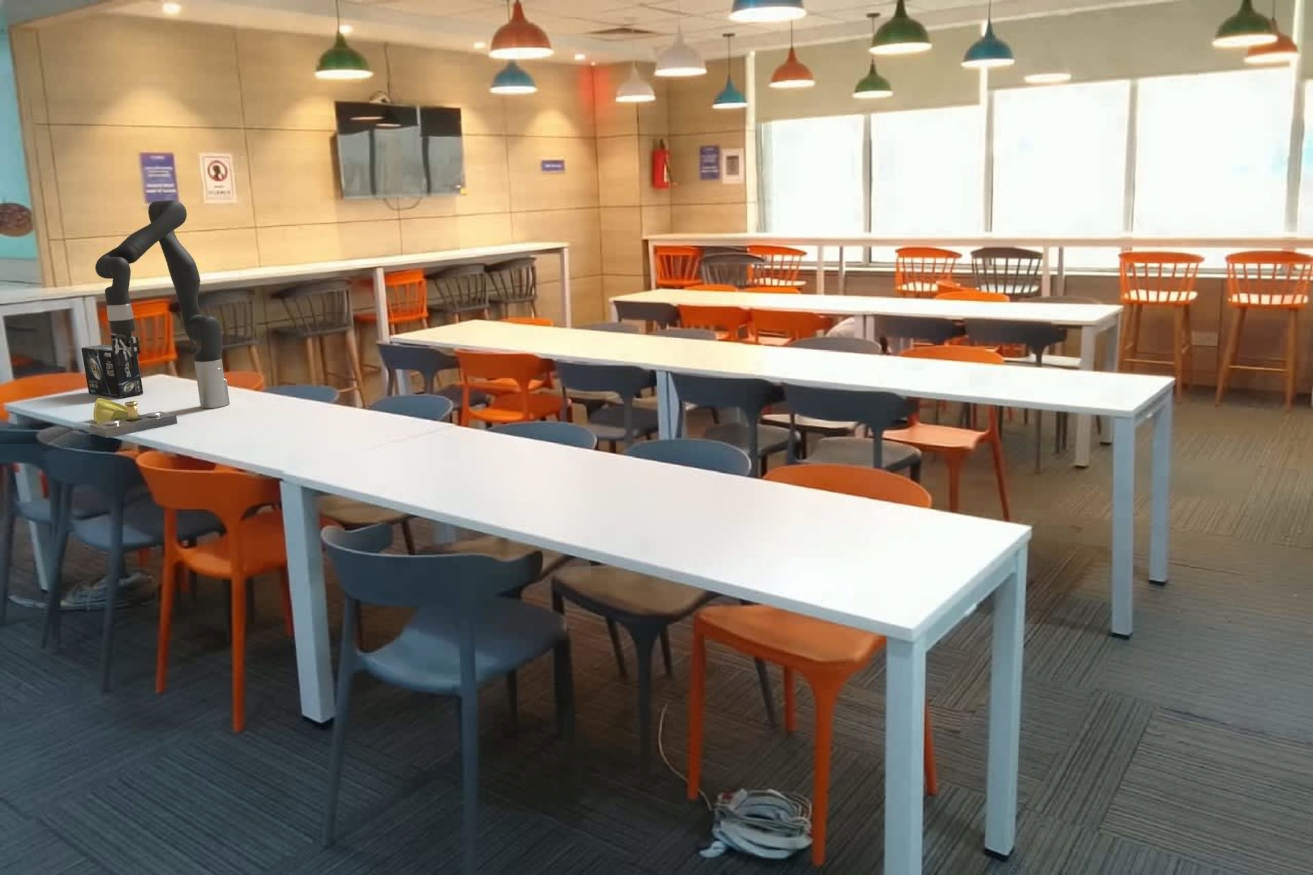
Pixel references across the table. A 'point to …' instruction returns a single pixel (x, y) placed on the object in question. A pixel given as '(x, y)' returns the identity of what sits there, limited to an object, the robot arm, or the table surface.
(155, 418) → the grey slotted plate
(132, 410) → the pin
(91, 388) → the box
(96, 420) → the plastic component
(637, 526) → the table surface
